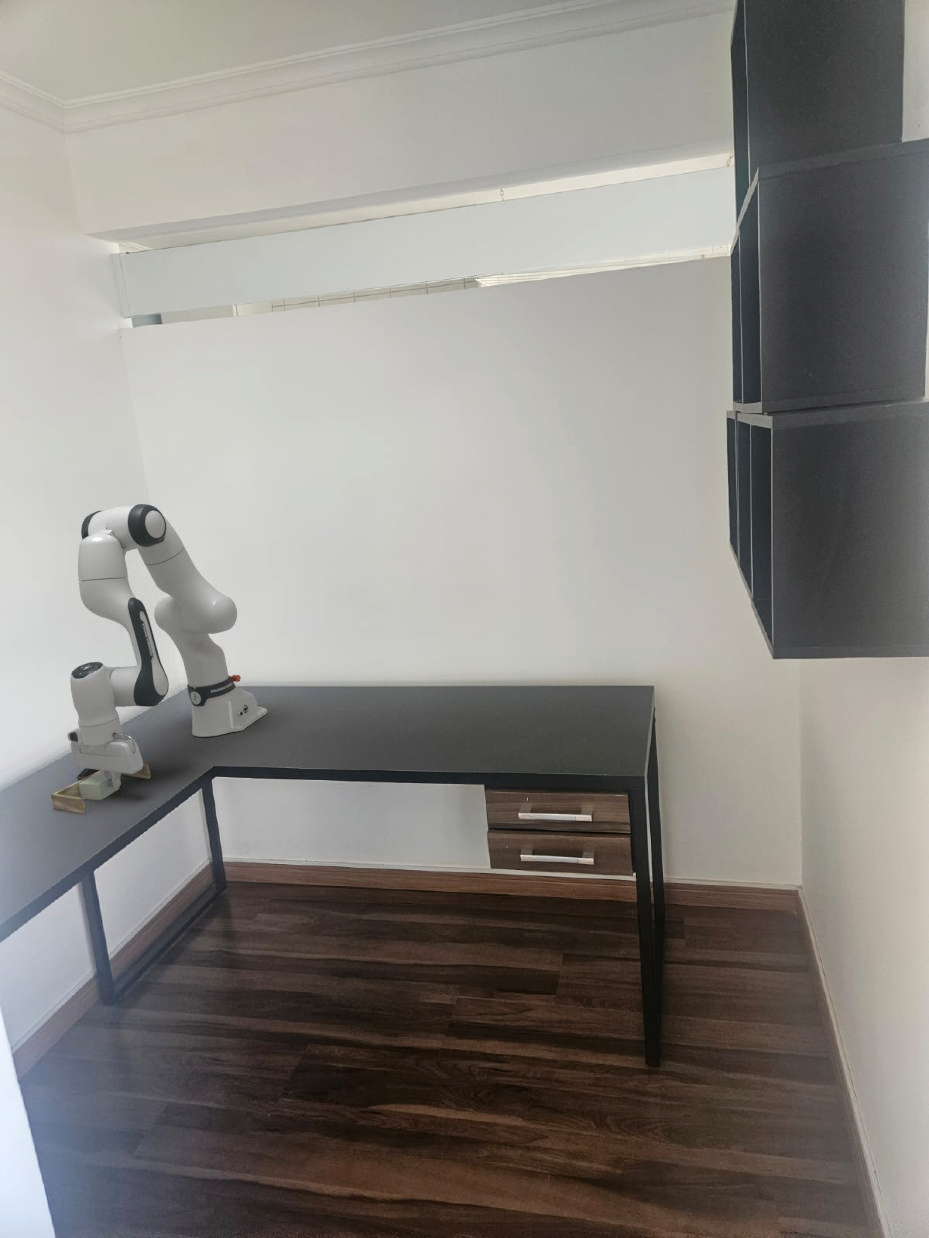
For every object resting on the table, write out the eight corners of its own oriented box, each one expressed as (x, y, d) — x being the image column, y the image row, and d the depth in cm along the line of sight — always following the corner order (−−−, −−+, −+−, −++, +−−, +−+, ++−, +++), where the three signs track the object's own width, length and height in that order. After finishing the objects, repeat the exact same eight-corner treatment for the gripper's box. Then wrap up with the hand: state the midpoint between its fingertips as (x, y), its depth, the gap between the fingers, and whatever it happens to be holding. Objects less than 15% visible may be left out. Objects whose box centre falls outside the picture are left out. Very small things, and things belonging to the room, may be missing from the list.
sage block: (99, 788, 211) (96, 773, 211) (119, 789, 209) (116, 774, 209) (81, 799, 206) (78, 783, 205) (101, 800, 204) (98, 784, 203)
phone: (75, 778, 218) (97, 755, 233) (76, 782, 218) (98, 759, 233) (106, 774, 218) (126, 751, 233) (107, 778, 218) (127, 755, 233)
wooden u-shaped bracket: (122, 773, 219) (119, 760, 218) (151, 777, 214) (148, 764, 213) (54, 808, 202) (50, 794, 201) (83, 813, 197) (79, 799, 196)
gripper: (142, 729, 200) (155, 784, 203) (84, 724, 210) (96, 776, 213) (121, 740, 195) (133, 796, 198) (62, 733, 205) (75, 787, 208)
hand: (114, 786), depth 206 cm, fingers closed
